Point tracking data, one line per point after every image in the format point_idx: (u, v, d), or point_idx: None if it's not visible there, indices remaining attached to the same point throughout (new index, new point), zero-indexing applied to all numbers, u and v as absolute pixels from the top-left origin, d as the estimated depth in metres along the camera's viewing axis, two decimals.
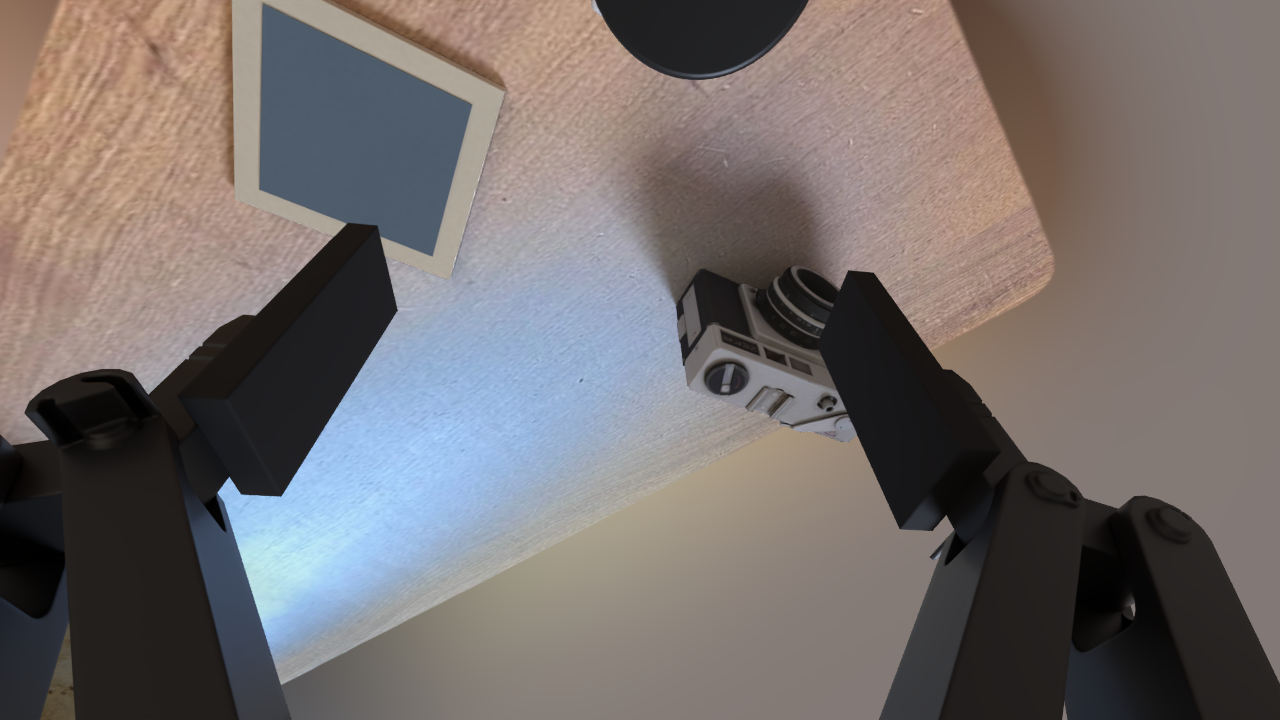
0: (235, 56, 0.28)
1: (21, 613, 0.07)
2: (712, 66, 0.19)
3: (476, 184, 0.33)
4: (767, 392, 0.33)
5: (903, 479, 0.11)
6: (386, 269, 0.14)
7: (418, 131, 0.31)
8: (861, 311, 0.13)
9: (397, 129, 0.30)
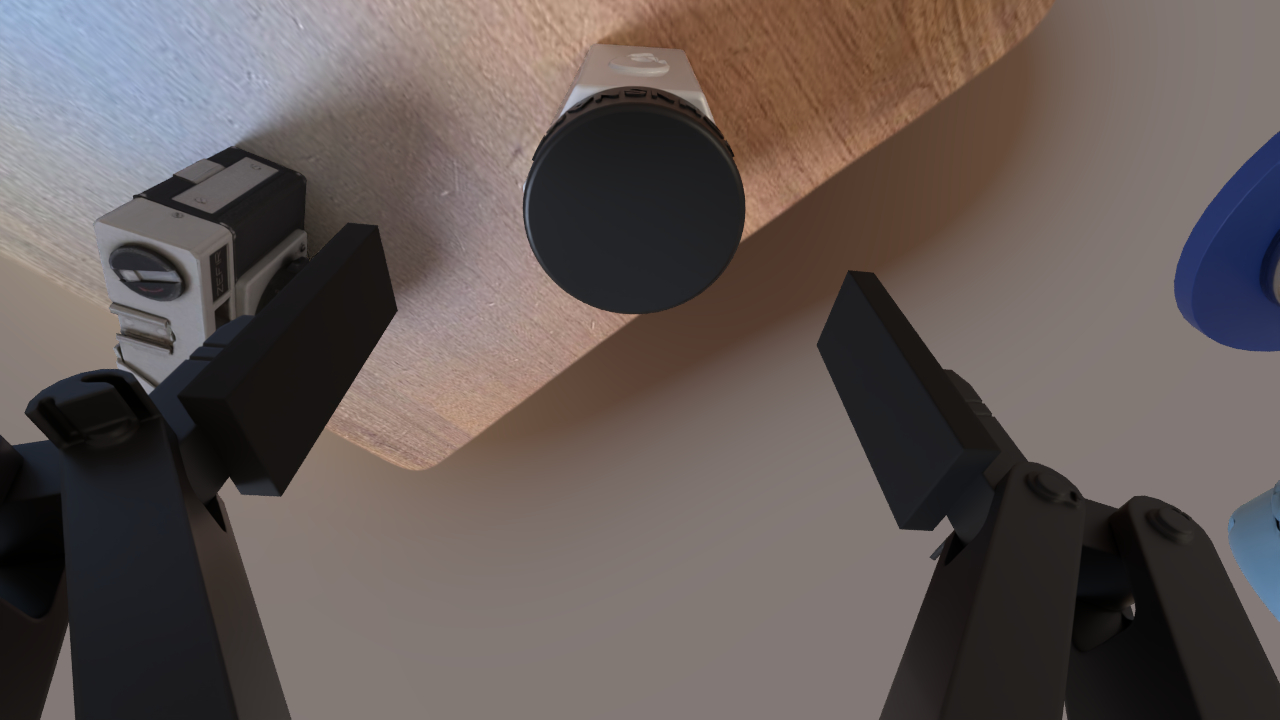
0: None
1: (21, 613, 0.07)
2: (538, 238, 0.19)
3: None
4: (159, 325, 0.24)
5: (903, 479, 0.11)
6: (386, 269, 0.14)
7: None
8: (861, 311, 0.13)
9: None
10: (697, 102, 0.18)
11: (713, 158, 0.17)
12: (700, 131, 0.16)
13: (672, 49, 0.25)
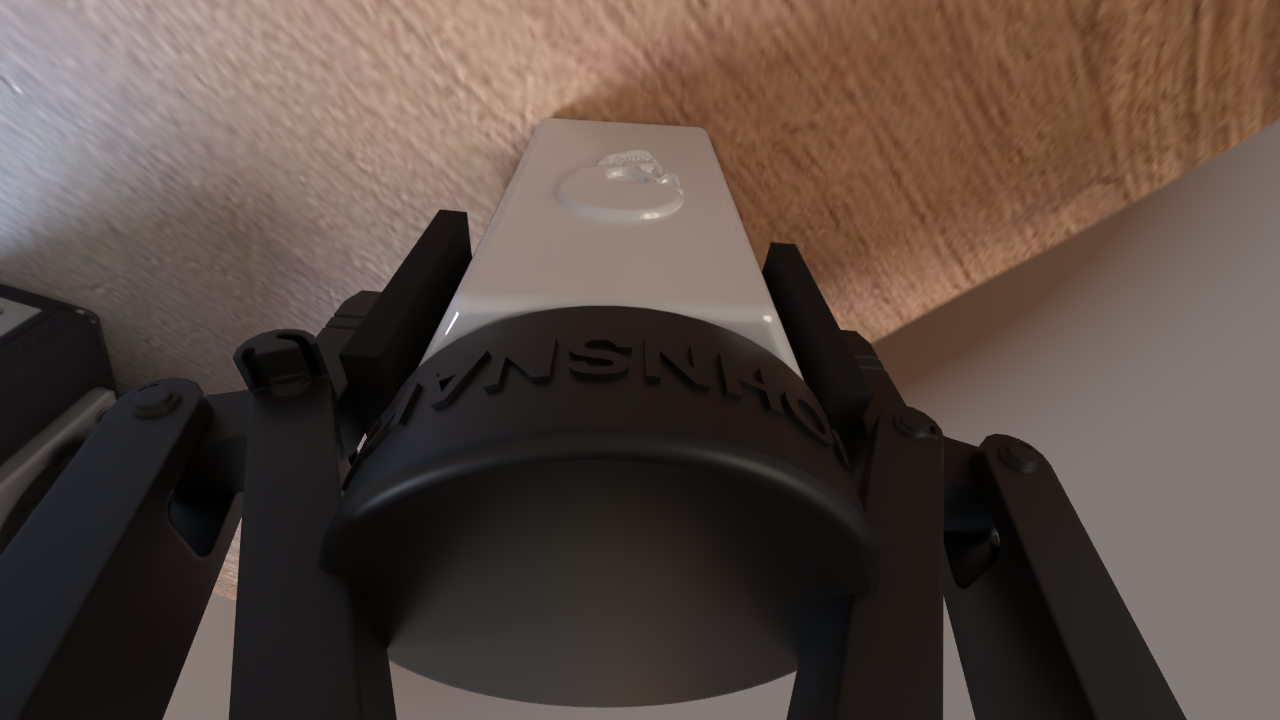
0: None
1: (191, 550, 0.08)
2: None
3: None
4: None
5: None
6: (469, 253, 0.15)
7: None
8: (778, 278, 0.14)
9: None
10: (759, 330, 0.07)
11: (817, 535, 0.06)
12: (788, 488, 0.06)
13: (684, 128, 0.14)
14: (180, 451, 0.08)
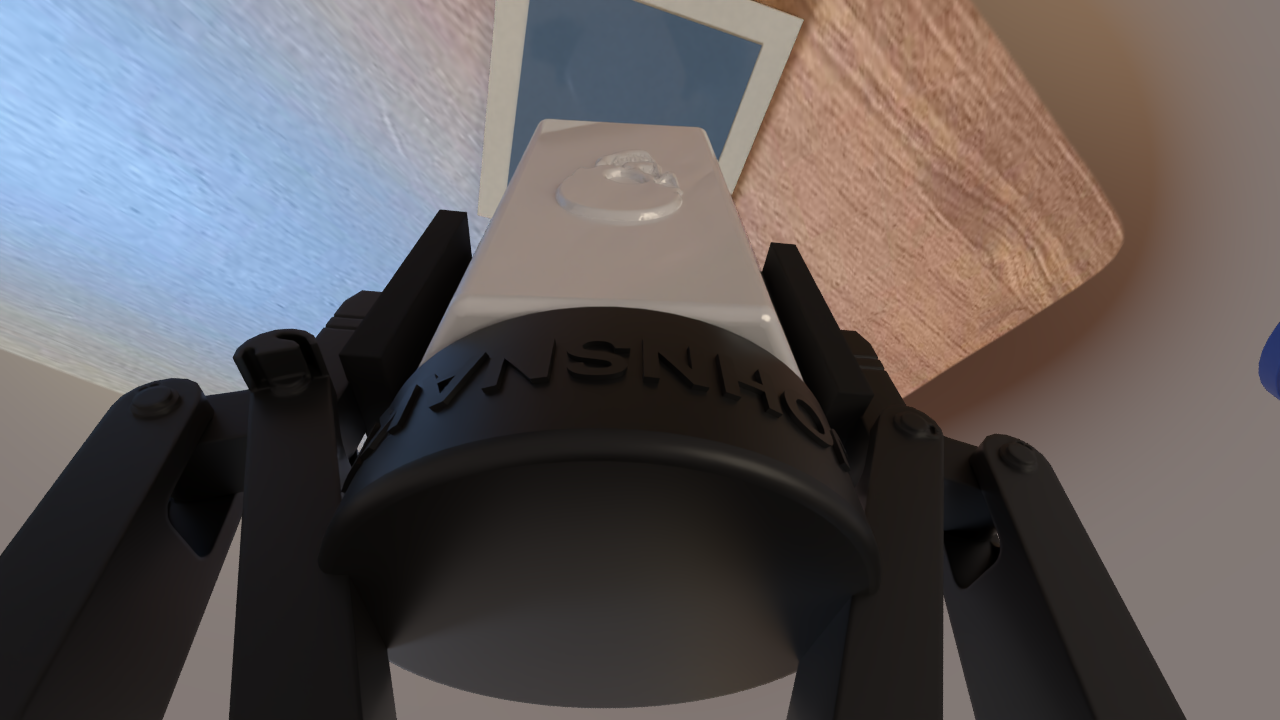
0: None
1: (191, 550, 0.08)
2: None
3: None
4: None
5: None
6: (469, 253, 0.15)
7: None
8: (778, 279, 0.14)
9: None
10: (758, 331, 0.07)
11: (816, 535, 0.06)
12: (787, 489, 0.06)
13: (684, 128, 0.14)
14: (180, 451, 0.08)
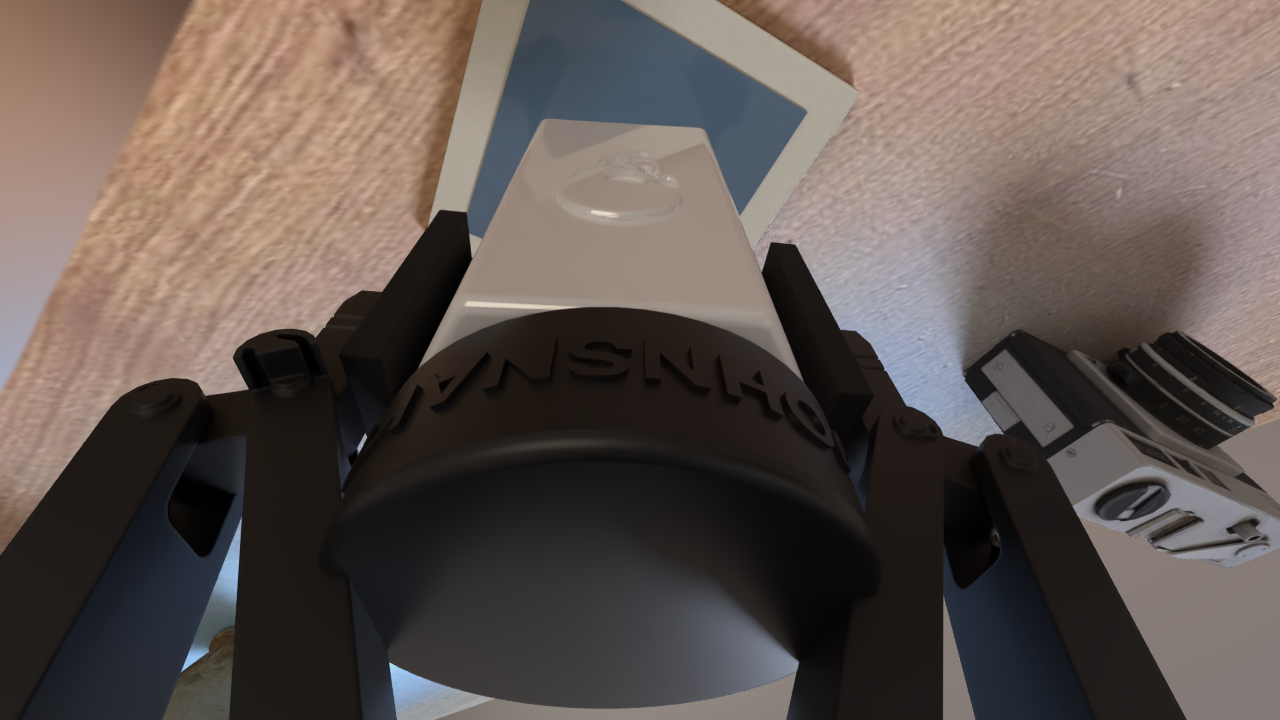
0: (478, 38, 0.18)
1: (191, 550, 0.08)
2: None
3: (768, 223, 0.23)
4: (1175, 516, 0.23)
5: None
6: (469, 253, 0.15)
7: (715, 149, 0.21)
8: (778, 279, 0.14)
9: None
10: (759, 332, 0.07)
11: (817, 536, 0.06)
12: (788, 490, 0.06)
13: (684, 129, 0.14)
14: (180, 451, 0.08)
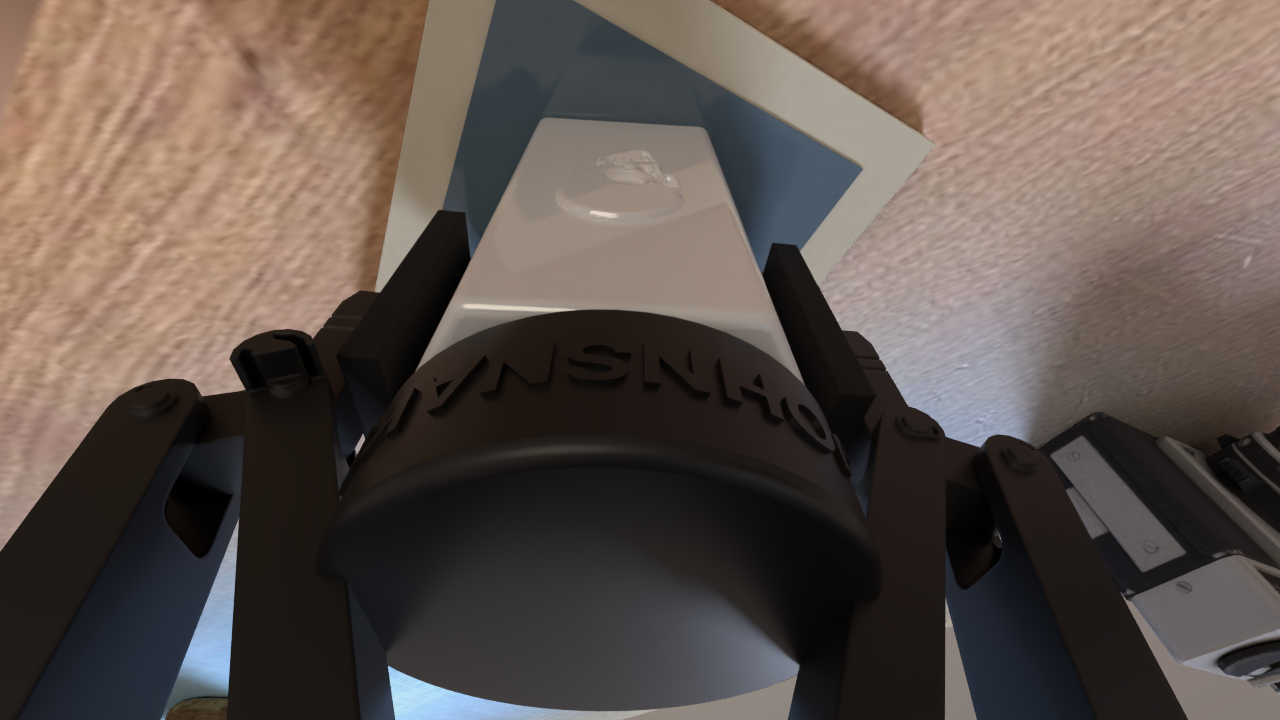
0: (421, 75, 0.14)
1: (188, 551, 0.08)
2: None
3: None
4: None
5: None
6: (468, 253, 0.15)
7: (740, 214, 0.16)
8: (779, 279, 0.14)
9: None
10: (759, 334, 0.07)
11: (818, 542, 0.06)
12: (789, 496, 0.06)
13: (685, 128, 0.14)
14: (177, 452, 0.08)
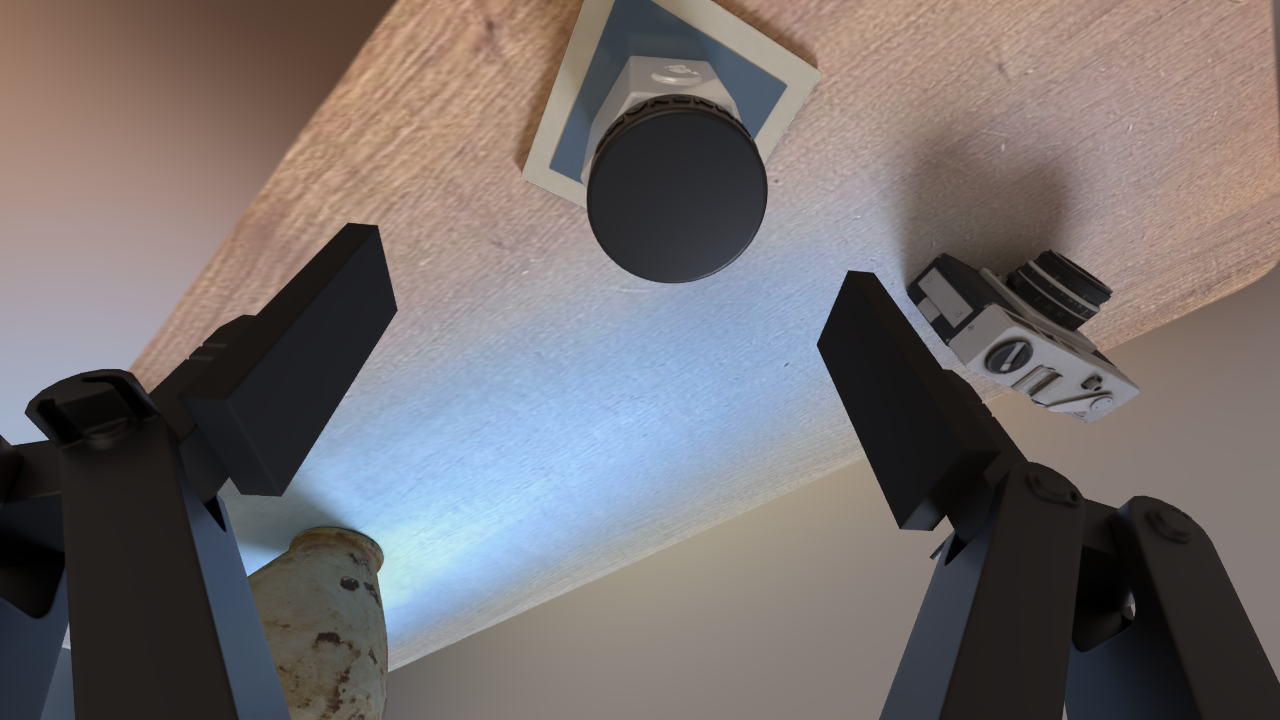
0: (575, 34, 0.29)
1: (21, 613, 0.07)
2: (597, 217, 0.23)
3: None
4: (1041, 371, 0.34)
5: (903, 479, 0.11)
6: (386, 269, 0.14)
7: None
8: (861, 310, 0.13)
9: None
10: (729, 107, 0.22)
11: (744, 152, 0.21)
12: (734, 130, 0.21)
13: (699, 61, 0.29)
14: None
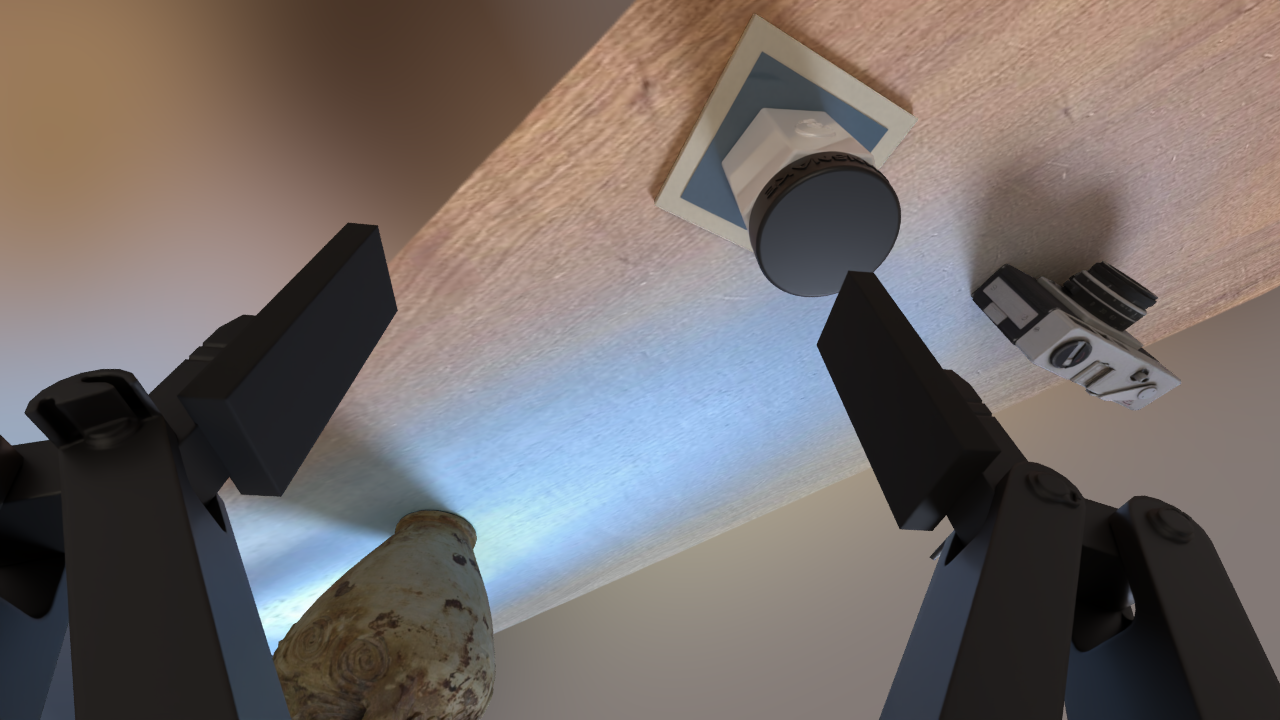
0: (718, 91, 0.35)
1: (21, 613, 0.07)
2: (764, 247, 0.29)
3: None
4: (1097, 366, 0.40)
5: (903, 479, 0.11)
6: (386, 269, 0.14)
7: None
8: (861, 311, 0.13)
9: None
10: (869, 160, 0.29)
11: (887, 198, 0.27)
12: (882, 182, 0.27)
13: (819, 112, 0.35)
14: None
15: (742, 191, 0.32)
